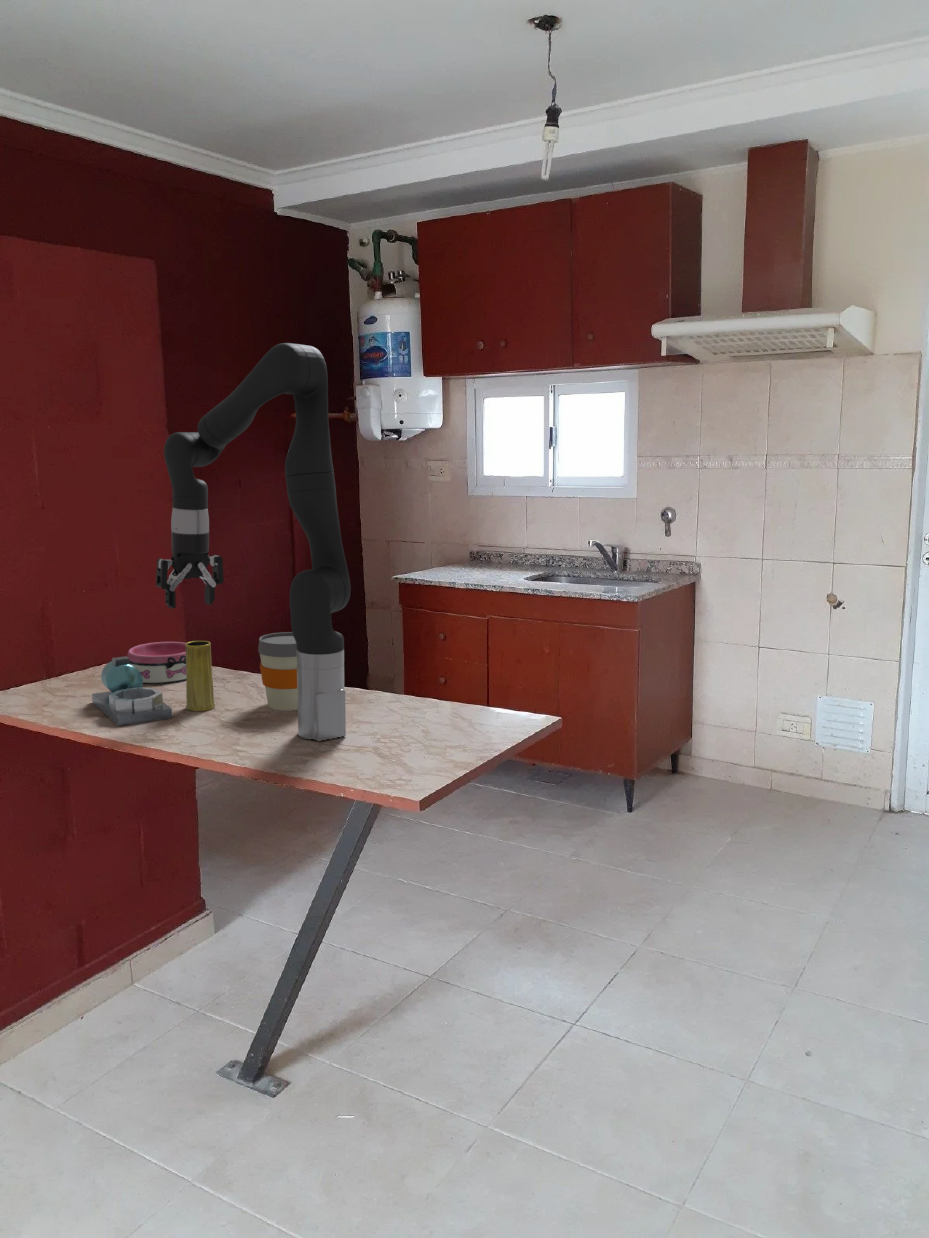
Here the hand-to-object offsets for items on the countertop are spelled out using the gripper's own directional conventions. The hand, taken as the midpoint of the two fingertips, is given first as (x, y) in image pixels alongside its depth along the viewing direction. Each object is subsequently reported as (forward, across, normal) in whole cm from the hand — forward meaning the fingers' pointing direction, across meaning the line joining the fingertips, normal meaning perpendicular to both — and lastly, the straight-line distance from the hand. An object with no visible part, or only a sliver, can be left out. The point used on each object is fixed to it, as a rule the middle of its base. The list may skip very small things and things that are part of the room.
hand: (190, 605), depth 203 cm
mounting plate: (+23, -11, +6) cm, 26 cm away
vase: (+22, +1, -2) cm, 23 cm away
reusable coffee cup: (+22, +17, -12) cm, 30 cm away
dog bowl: (+24, +8, +29) cm, 39 cm away
